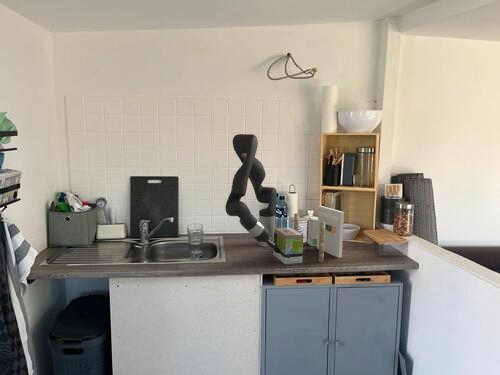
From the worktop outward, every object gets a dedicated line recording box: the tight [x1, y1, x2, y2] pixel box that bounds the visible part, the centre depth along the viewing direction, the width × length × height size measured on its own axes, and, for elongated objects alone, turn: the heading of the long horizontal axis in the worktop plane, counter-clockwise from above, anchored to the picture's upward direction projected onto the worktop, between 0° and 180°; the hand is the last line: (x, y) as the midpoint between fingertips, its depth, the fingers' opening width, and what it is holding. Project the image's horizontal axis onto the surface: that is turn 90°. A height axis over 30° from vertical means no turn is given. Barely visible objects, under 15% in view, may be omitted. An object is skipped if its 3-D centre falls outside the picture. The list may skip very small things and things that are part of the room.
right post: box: [318, 222, 325, 263], centre depth 185 cm, size 2×2×20 cm
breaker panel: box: [316, 205, 345, 259], centre depth 199 cm, size 18×3×24 cm, turn 28°
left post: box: [293, 212, 300, 232], centre depth 204 cm, size 2×2×20 cm
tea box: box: [272, 227, 304, 265], centre depth 189 cm, size 15×10×15 cm
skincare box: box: [307, 216, 318, 247], centre depth 214 cm, size 8×7×16 cm
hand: (278, 251), depth 186 cm, fingers closed
